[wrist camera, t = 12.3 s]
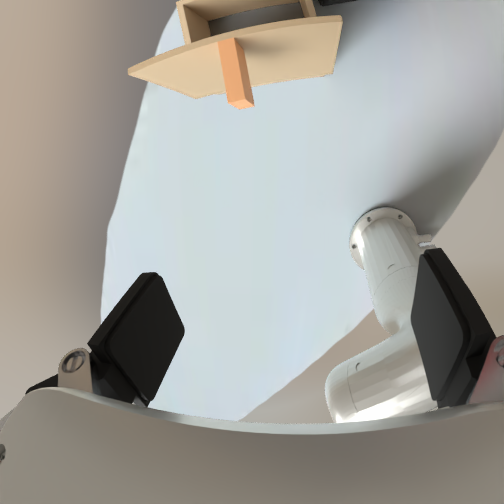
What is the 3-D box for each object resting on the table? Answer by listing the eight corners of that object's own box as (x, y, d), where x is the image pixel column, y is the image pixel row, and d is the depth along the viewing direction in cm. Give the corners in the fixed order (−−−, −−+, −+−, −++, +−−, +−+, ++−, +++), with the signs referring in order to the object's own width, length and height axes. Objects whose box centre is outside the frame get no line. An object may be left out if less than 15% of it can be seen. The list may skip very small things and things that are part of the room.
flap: (340, 15, 13) (359, 84, 15) (331, 69, 26) (340, 114, 28) (127, 68, 17) (134, 130, 19) (195, 94, 30) (202, 136, 32)
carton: (303, -3, 28) (302, -28, 20) (323, 76, 35) (329, 68, 26) (202, 18, 32) (176, 2, 24) (219, 94, 39) (196, 93, 30)
